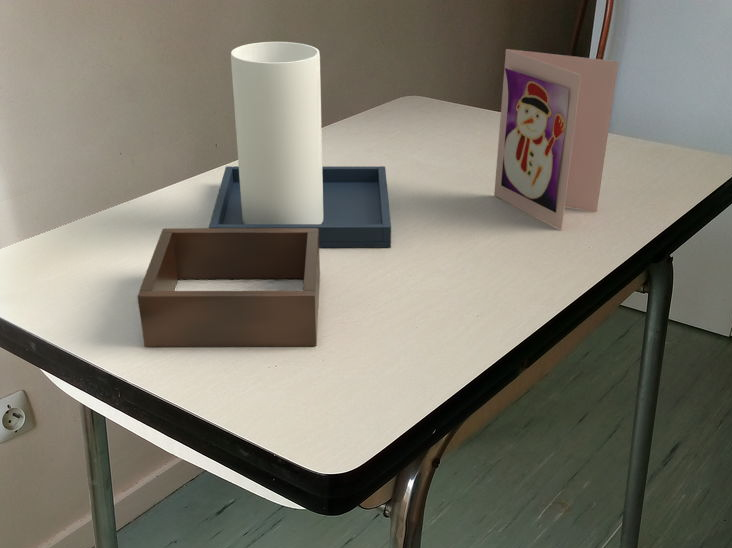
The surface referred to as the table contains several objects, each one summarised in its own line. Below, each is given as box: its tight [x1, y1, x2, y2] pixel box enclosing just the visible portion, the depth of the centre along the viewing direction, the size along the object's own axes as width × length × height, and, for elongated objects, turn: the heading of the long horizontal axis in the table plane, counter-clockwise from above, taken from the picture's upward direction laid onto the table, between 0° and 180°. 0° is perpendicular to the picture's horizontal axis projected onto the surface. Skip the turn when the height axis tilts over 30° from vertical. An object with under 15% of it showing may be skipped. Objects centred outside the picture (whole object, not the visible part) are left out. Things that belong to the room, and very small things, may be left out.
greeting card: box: [493, 48, 620, 231], centre depth 103 cm, size 11×7×15 cm, turn 31°
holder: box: [136, 227, 321, 348], centre depth 86 cm, size 14×14×4 cm
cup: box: [230, 41, 323, 224], centre depth 98 cm, size 8×8×16 cm
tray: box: [208, 165, 392, 249], centre depth 105 cm, size 18×18×2 cm
